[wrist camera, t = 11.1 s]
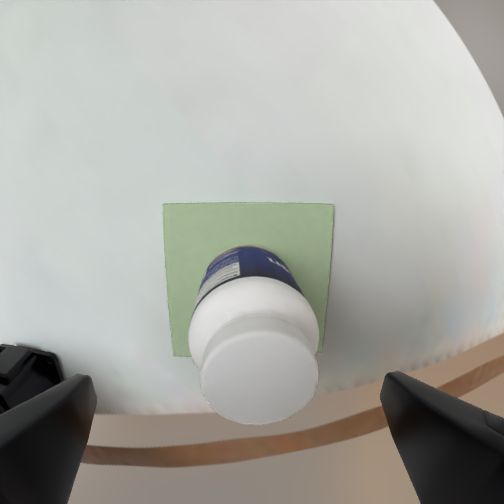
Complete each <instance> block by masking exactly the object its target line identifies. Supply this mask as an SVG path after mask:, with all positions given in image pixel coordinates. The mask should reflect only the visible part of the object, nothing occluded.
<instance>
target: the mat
mask: <svg viewBox="0 0 504 504" xmlns="http://www.w3.org/2000/svg"><path fill="white" fill-rule="evenodd" d="M333 212H334V205H333V204H313V203H171V204H163V230H164V251H165V267H166V282H167V294H168V306H169V317H170V326H171V336H172V345H173V353H174V356H186V357H191V353H190V349H189V342H188V334H189V327H190V321H191V317H192V314H193V310H194V307H195V303H196V299H197V295H198V292H199V288H200V284H201V281H202V278H203V275H204V273H205V270H206V268H207V267H208V265H209V264H210V262H211V261H212V260H213V259H214V258H215V257H216V256H217V255H218V254H220V253H221V252H223V251H224V250H226V249H228V248H231V247H234V246H237V245H245V244H250V245H257V246H261V247H264V248H266V249H268V250H270V251H272V252H273V253H275V254H276V255H277V256H278V257H280V258H281V260H282V261H283V262H284V263H285V264H286V266H287V267H288V269H289V271H290V272H291V274H292V276H293V277H294V279H295V280H296V282H297V284H298V286H299V287H300V289H301V290H302V292H303V294H304V295H305V297H306V299H307V300H308V302H309V304H310V306H311V307H312V310H313V312H314V314H315V316H316V320H317V323H318V328H319V342H318V348H317V352H316V353H321V352H322V344H323V336H324V327H325V318H326V308H327V298H328V287H329V275H330V262H331V248H332V232H333Z"/></svg>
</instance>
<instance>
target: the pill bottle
mask: <svg viewBox="0 0 504 504" xmlns="http://www.w3.org/2000/svg"><path fill="white" fill-rule="evenodd" d="M188 342H189V349H190V353H191V357H192V359H193V361H194V363H195V365H196V367H197V368H198V370H199V371H200V373H201V374H200V384H201V389H202V393H203V396H204V397H205V399H206V401H207V402H208V404H209V405H210V406H211V407H212V408H213V409H214V410H215V411H216V412H217V413H218V414H220V415H222V416H223V417H225V418H227V419H229V420H231V421H234V422H237V423H242V424H247V425H265V424H271V423H275V422H279V421H281V420H284V419H286V418H288V417H291V416H292V415H294V414H296V413H297V412H298V411H300V410H301V409H302V408H303V407H304V406H305V405H306V404H307V403H308V402H309V401H310V400H311V398H312V396H313V395H314V393H315V391H316V388H317V386H318V381H319V368H318V363H317V361H316V358H315V355H316V352H317V348H318V342H319V328H318V323H317V320H316V316H315V314H314V312H313V310H312V307H311V306H310V304H309V302H308V300H307V299H306V297H305V295H304V294H303V292H302V290H301V289H300V287H299V286H298V284H297V282H296V280H295V279H294V277H293V276H292V274H291V272H290V271H289V269H288V267H287V266H286V264H285V263H284V262H283V261H282V260H281V258H280V257H278V256H277V255H276V254H275V253H273V252H272V251H270V250H268V249H266V248H264V247H261V246H257V245H250V244H245V245H237V246H234V247H231V248H228V249H226V250H224V251H223V252H221V253H220V254H218V255H217V256H216V257H215V258H214V259H213V260H212V261H211V262H210V264H209V265H208V267H207V268H206V270H205V273H204V275H203V278H202V281H201V284H200V288H199V292H198V295H197V299H196V303H195V307H194V310H193V314H192V317H191V321H190V327H189V334H188Z"/></svg>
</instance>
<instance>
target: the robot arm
mask: <svg viewBox="0 0 504 504" xmlns="http://www.w3.org/2000/svg"><path fill="white" fill-rule="evenodd" d="M50 359H51V360H50ZM380 400H381V403H382V406H383V409H384V412H385V416H386V419H387V422H388V425H389V428H390V432H391V434H392V437H393V440H394V442H395V444H396V447H397V449H398V451H399V454H400V456H401V458H402V460H403V463H404V465H405V467H406V470H407V472H408V474H409V477H410V479H411V481H412V484H413V486H414V488H415V491H416V493H417V496H418V498H419V500H420V503H421V504H504V418H502V417H500V416H497V415H494V414H492V413H490V412H488V411H485V410H484V411H483V409H481V408H478V407H476V406H474V405H472V404H469V403H467V402H464V401H462V400H460V399H458V398H456V397H454V396H451V395H449V394H447V393H445V392H442V391H440V390H438V389H436V388H434V387H432V386H429V385H427V384H425V383H423V382H421V381H419V380H417V379H414V378H412V377H410V376H408V375H406V374H404V373H402V372H399V371H396V372H389V373H387V374H386V376H385V379H384V382H383V386H382V389H381V393H380ZM96 404H97V396H96V393H95V389H94V386H93V382H92V379H91V377H90V376H88V375H83V374H76V375H75V376H73V377H71V378H69V379H67V380H65V381H64V380H63V377H62V374H61V371H60V368H59V365H58V361H57V358H56V356H55V355H54V354H52V353H49V352H43V351H36V350H31V349H29V348H23V347H17V346H12V345H9V346H8V345H3V344H1V345H0V504H67V503H68V500H69V497H70V493H71V490H72V487H73V483H74V481H75V478H76V474H77V471H78V468H79V465H80V462H81V459H82V457H83V454H84V451H85V448H86V445H87V442H88V438H89V433H90V429H91V425H92V420H93V416H94V412H95V408H96Z"/></svg>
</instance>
